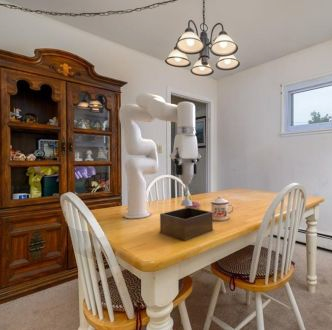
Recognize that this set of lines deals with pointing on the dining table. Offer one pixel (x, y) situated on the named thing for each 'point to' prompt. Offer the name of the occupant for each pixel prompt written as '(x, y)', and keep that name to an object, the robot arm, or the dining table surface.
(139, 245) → the dining table surface
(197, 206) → the red onion
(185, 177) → the chalice
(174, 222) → the crate
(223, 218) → the teacup with lid
